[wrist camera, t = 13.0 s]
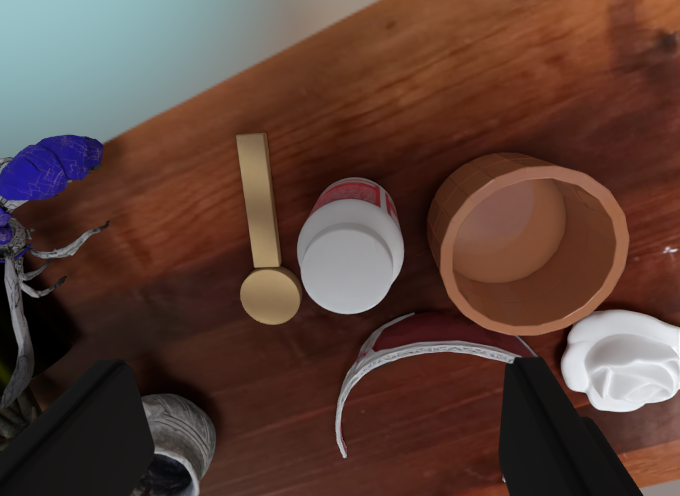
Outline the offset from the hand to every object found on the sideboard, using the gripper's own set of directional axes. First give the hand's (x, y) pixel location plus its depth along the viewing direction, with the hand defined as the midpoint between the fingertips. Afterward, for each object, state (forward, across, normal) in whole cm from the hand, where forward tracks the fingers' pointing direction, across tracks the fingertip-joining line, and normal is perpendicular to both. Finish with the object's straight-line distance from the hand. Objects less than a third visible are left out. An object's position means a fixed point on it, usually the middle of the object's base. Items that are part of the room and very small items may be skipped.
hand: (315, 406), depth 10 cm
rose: (+22, -20, +13) cm, 33 cm away
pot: (+22, -10, +2) cm, 24 cm away
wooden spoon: (+22, +7, +1) cm, 23 cm away
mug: (+21, +18, +19) cm, 34 cm away
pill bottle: (+22, 0, +1) cm, 22 cm away
